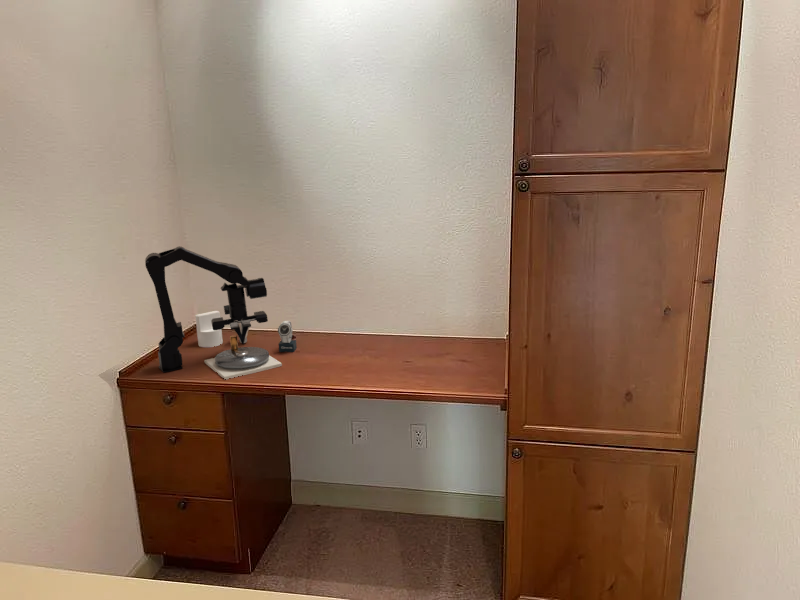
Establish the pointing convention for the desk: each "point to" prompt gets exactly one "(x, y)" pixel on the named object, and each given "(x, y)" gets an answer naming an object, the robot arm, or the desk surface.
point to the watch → (286, 337)
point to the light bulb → (246, 333)
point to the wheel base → (233, 373)
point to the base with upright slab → (208, 330)
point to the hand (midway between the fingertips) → (242, 343)
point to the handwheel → (241, 356)
